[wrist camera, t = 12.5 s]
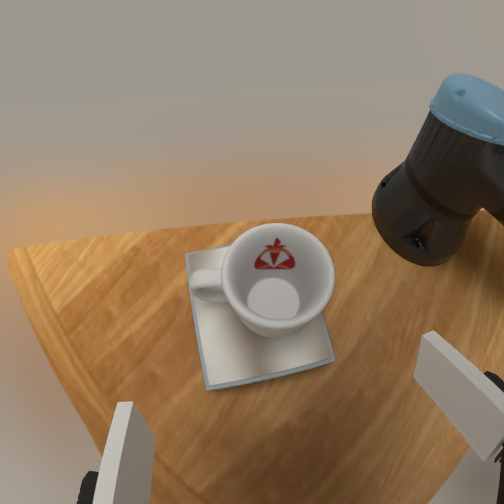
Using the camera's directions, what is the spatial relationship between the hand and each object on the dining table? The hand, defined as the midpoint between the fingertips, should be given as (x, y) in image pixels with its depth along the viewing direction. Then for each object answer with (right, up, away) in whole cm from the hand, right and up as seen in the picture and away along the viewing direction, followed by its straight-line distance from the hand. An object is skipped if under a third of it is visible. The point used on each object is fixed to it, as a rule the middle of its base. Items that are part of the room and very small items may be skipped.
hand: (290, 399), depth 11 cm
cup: (-1, +1, +16) cm, 16 cm away
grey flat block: (-1, -1, +20) cm, 20 cm away
